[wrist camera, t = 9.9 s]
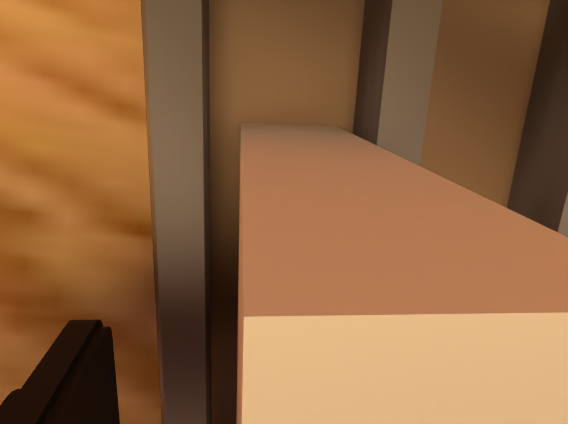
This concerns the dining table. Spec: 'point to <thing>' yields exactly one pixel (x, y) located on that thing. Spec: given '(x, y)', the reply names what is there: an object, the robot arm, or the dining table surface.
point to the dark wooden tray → (331, 112)
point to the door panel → (389, 291)
